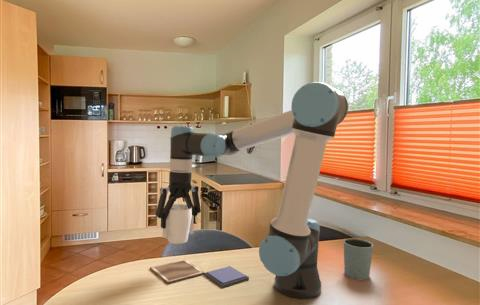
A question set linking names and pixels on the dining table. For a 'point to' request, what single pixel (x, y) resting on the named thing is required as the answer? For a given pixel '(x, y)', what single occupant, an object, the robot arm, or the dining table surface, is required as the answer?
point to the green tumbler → (357, 258)
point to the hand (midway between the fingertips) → (178, 235)
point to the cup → (179, 223)
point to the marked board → (176, 271)
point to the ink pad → (226, 276)
